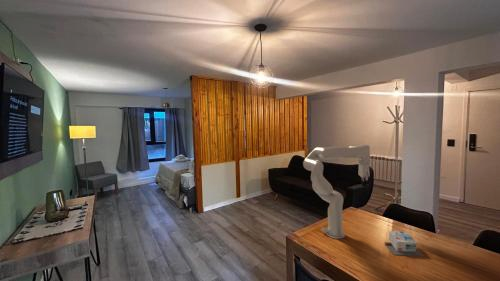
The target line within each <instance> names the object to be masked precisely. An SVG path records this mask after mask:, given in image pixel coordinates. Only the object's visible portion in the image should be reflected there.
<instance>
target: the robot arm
mask: <svg viewBox="0 0 500 281" xmlns="http://www.w3.org/2000/svg"><path fill="white" fill-rule="evenodd" d="M370 149H371V146H370V145H368V144H360V145H350V146H344V145H343V146H341V145H339V146H328V147H323V146H317V147H315V148H314V149H313V150H312V151H311V152H310V153H308V155H307V157H305V159H304V160H303V162H302V165H303V168H304V169H305V170H307V171H310V172H311V174H310V181H311V182H312V183H311V186H312V187H311V188H312V189H313V191H314V192H315V194H317V195H318V196H319V197H320V198H321V199H322V200H323V201H325V202H327V203H329V206H328V207H327V223H328V225H327V227H325V228H324V227H321V231H322V232H324V233H326V235H327V236H328V237H330V238H332V239H336V240H339V239H340V240H341V239H344V238H345V237H346V233H345V232H344V231H343V230H344V229H343V227H344V226H343V205H344V195H342V193H340V192H338V191H337V190H334V189H333V186H332V184H331V183H330V182H329V181H328V180H327V179H326V178H325V177H324V175H323V174H324V163H323V162H322V161H320V159H321V160H323V161H324V160H336V159H357V158H358V159H357V160H358V173H357V174H358V176H360V178H361V186H362V187H368V180H369V178H370V176H371V175H370V174H371V173H370V164H371V156H370V155H371V152H370V151H371V150H370Z"/></svg>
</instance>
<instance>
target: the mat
mask: <svg viewBox="0 0 500 281" xmlns="http://www.w3.org/2000/svg"><path fill="white" fill-rule="evenodd" d="M385 247H387V249H388V250H389V251H390V253H391V254H392V255H393V256H409V257H410V256H411V257H424V255H423V254H422V253H421V252H420V251H419V250H418V249H417V248H416V252H403V251H396V249H395V248H394V246H387V245H385Z"/></svg>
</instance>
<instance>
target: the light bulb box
mask: <svg viewBox="0 0 500 281" xmlns="http://www.w3.org/2000/svg"><path fill="white" fill-rule="evenodd" d="M388 242H391V244H392V245H393V246H394V248H395V249H396V251H403V252H416V249H417V242H416V240H415V239H414V238H413V237H412V236H411V235H410V233H408V232H407V231H406V230H405V231H400V230H389V232H388Z"/></svg>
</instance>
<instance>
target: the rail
mask: <svg viewBox="0 0 500 281" xmlns="http://www.w3.org/2000/svg"><path fill="white" fill-rule="evenodd" d="M384 245H385V246H386V245H387V246H393V245H392V244H391V242H390V241H385V242H384Z"/></svg>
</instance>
